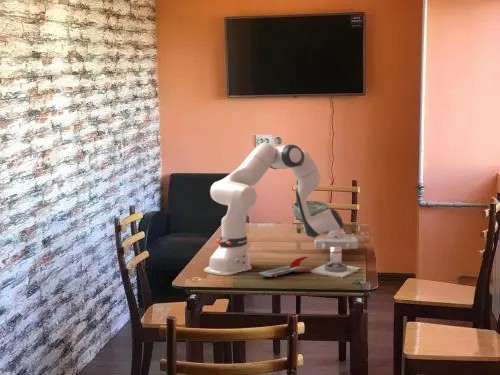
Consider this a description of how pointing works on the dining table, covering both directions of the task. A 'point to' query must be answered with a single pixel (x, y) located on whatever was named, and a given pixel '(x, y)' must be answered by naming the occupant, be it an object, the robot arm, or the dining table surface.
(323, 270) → the ring plate
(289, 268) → the toy spaceship
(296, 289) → the dining table surface
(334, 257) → the piston
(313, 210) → the bowl
